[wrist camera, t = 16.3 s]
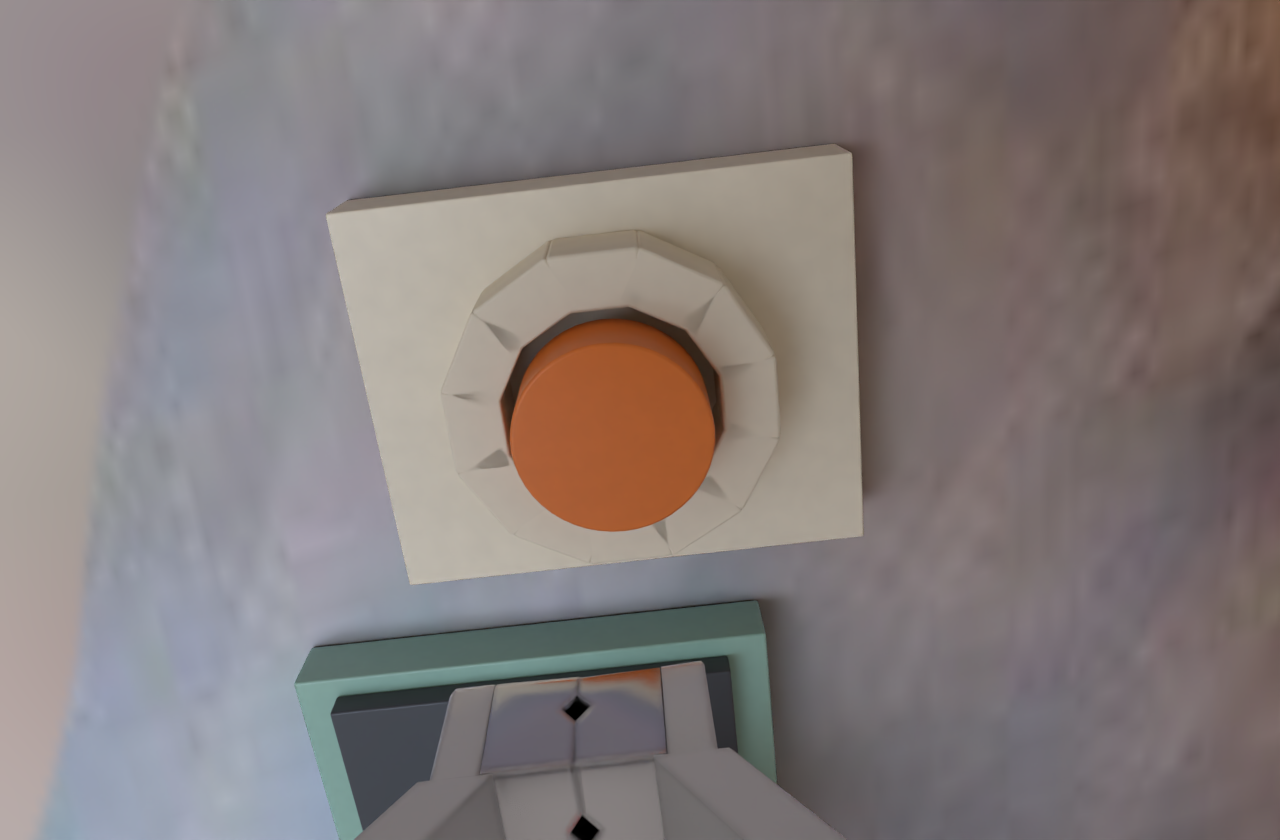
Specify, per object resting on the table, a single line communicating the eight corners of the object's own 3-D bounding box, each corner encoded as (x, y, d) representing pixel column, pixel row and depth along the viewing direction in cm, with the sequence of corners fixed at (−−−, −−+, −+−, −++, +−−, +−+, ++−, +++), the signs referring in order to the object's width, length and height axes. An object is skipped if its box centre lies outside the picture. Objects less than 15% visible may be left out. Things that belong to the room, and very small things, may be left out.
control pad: (835, 142, 22) (874, 163, 19) (848, 505, 25) (883, 575, 22) (345, 200, 22) (298, 230, 19) (422, 551, 25) (394, 628, 22)
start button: (699, 306, 20) (706, 331, 18) (715, 484, 21) (723, 521, 20) (503, 329, 20) (493, 355, 18) (533, 504, 22) (526, 543, 20)
